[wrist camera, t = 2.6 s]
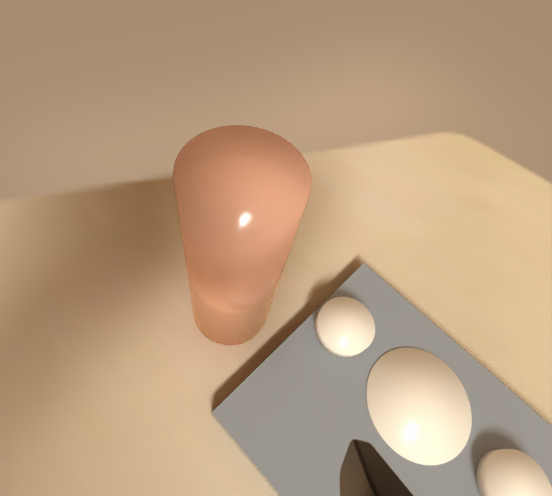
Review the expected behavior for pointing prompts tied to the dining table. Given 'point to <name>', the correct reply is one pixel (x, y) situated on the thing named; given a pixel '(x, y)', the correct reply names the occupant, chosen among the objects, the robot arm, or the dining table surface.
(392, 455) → the board
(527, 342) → the dining table surface
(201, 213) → the canister
